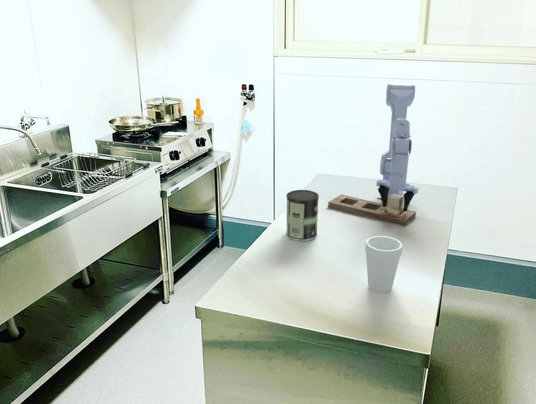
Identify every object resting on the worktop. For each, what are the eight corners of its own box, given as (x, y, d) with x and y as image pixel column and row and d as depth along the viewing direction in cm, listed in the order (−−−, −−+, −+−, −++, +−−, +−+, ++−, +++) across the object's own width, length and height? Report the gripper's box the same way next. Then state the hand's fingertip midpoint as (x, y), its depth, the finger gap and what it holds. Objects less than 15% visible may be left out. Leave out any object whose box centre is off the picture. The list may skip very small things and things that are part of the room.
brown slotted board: (340, 199, 205) (341, 193, 205) (415, 216, 189) (416, 211, 188) (328, 206, 198) (328, 201, 197) (404, 225, 182) (405, 220, 181)
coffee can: (316, 228, 179) (317, 189, 174) (318, 241, 170) (319, 200, 164) (285, 228, 179) (286, 189, 174) (285, 241, 170) (286, 200, 165)
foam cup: (373, 274, 150) (377, 232, 145) (403, 285, 144) (408, 242, 139) (356, 287, 143) (359, 244, 138) (387, 299, 137) (391, 254, 133)
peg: (390, 214, 191) (392, 193, 188) (401, 217, 189) (403, 196, 186) (386, 218, 188) (388, 197, 185) (397, 220, 186) (399, 199, 183)
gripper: (374, 171, 183) (371, 207, 188) (414, 178, 176) (410, 216, 180) (382, 166, 189) (379, 201, 194) (422, 173, 181) (417, 210, 186)
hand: (394, 208), depth 187 cm, fingers open, 7 cm apart
